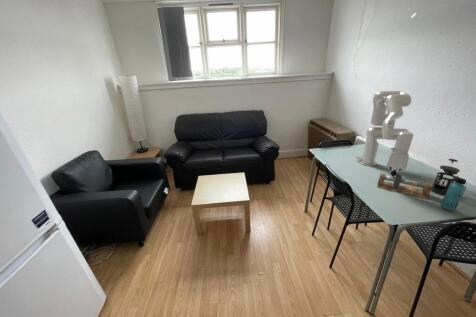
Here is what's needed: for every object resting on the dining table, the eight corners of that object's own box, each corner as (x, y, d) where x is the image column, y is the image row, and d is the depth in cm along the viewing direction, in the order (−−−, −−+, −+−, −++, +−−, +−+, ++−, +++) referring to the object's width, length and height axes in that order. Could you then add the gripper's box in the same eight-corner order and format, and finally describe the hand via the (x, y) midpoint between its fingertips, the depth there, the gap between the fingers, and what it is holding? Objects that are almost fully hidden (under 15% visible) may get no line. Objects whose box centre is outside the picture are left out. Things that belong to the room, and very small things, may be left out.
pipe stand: (377, 187, 141) (379, 177, 138) (378, 180, 149) (380, 171, 146) (428, 199, 127) (432, 188, 124) (426, 191, 134) (430, 181, 131)
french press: (433, 194, 132) (447, 161, 122) (426, 186, 140) (438, 155, 131) (456, 196, 128) (472, 163, 119) (447, 189, 136) (461, 157, 127)
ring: (393, 187, 137) (396, 177, 133) (393, 182, 142) (396, 172, 139) (398, 188, 135) (401, 178, 132) (398, 183, 141) (401, 173, 138)
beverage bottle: (436, 206, 120) (449, 176, 112) (446, 205, 121) (460, 175, 113) (447, 213, 114) (462, 182, 106) (458, 212, 115) (473, 181, 107)
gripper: (386, 150, 132) (379, 175, 139) (416, 155, 124) (407, 181, 131) (386, 147, 137) (380, 171, 145) (415, 151, 129) (406, 176, 137)
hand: (392, 176), depth 138 cm, fingers closed
